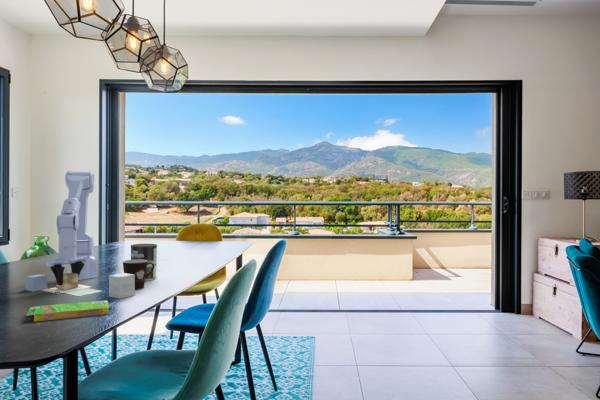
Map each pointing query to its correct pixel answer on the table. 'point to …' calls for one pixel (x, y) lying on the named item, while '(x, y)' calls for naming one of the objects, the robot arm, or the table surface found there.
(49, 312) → the game box
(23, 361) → the table surface
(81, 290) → the mat
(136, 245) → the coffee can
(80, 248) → the robot arm
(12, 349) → the table surface
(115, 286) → the skincare box
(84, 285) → the letter
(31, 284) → the cube
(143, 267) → the coffee mug
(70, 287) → the block
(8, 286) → the table surface
